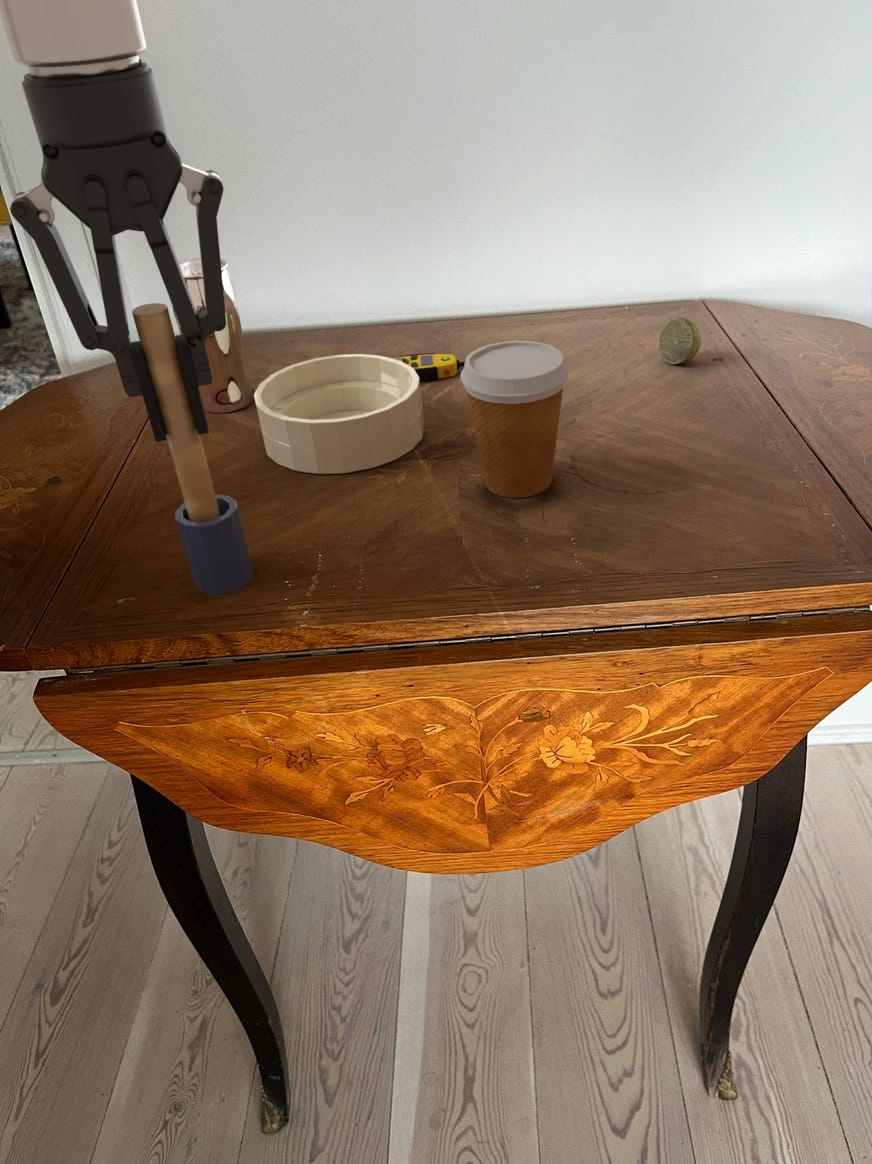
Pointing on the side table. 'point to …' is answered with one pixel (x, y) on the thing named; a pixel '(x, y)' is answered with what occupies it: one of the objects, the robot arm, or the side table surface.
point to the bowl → (340, 413)
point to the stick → (176, 410)
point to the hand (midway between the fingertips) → (181, 429)
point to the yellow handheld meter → (432, 365)
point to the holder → (216, 549)
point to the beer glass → (220, 344)
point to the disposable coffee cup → (516, 413)
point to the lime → (679, 341)
